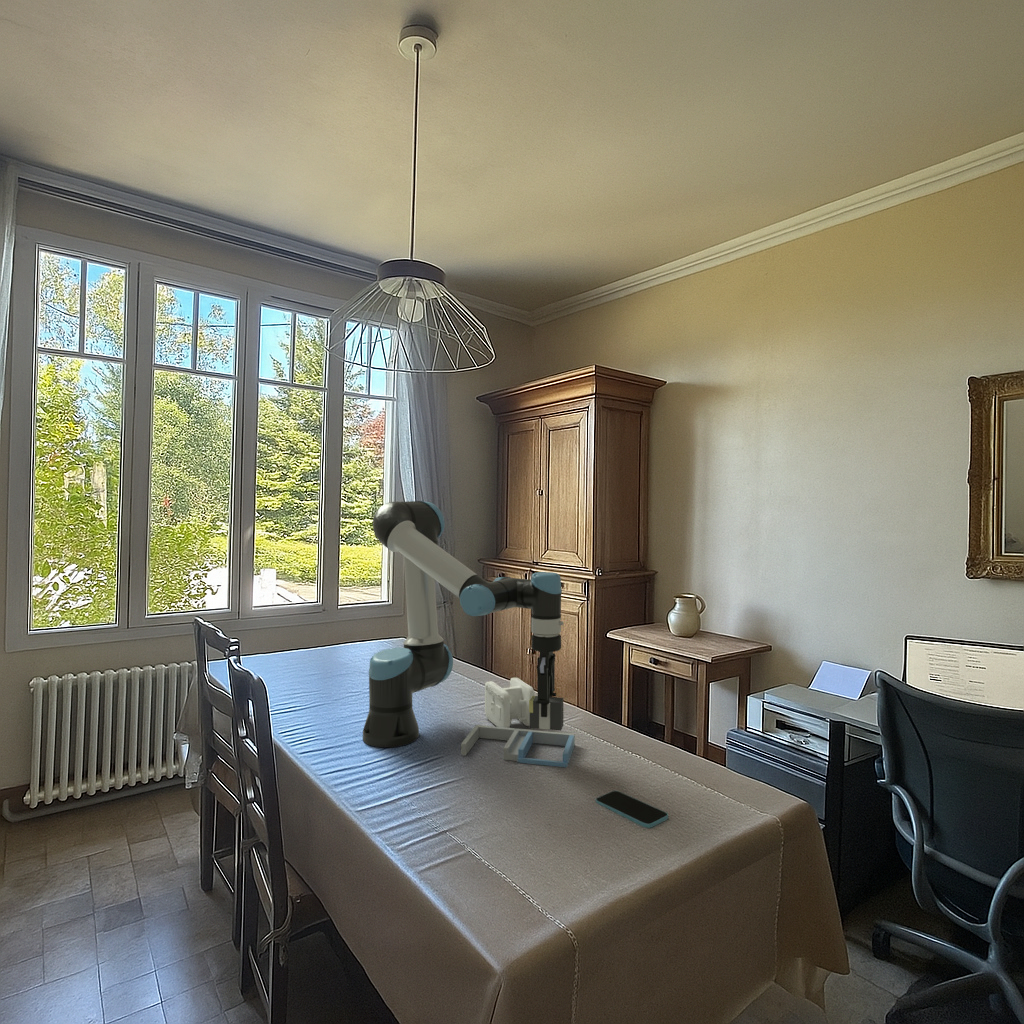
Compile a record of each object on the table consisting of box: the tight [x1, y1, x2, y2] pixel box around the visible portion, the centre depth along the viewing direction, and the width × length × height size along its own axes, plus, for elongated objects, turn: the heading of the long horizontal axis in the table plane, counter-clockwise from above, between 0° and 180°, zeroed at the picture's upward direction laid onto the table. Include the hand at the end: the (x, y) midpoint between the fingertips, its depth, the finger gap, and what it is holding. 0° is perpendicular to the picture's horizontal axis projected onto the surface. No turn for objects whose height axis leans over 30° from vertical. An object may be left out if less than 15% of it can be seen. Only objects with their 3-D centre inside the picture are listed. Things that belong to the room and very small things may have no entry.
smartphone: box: [595, 790, 669, 829], centre depth 138 cm, size 7×1×15 cm
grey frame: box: [460, 724, 576, 768], centre depth 169 cm, size 27×14×3 cm, turn 77°
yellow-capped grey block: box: [529, 695, 564, 732], centre depth 164 cm, size 8×4×7 cm, turn 77°
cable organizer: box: [484, 676, 536, 728], centre depth 188 cm, size 15×11×12 cm
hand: (546, 725), depth 164 cm, fingers closed on yellow-capped grey block, 4 cm apart
